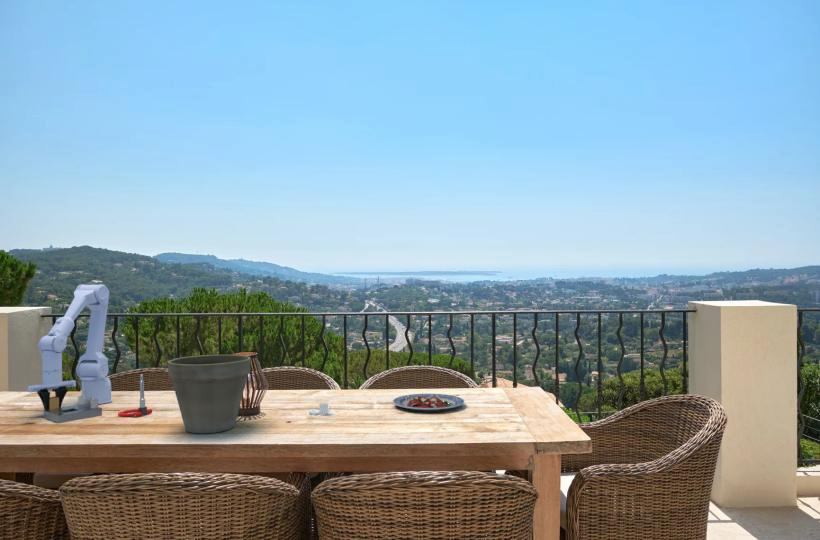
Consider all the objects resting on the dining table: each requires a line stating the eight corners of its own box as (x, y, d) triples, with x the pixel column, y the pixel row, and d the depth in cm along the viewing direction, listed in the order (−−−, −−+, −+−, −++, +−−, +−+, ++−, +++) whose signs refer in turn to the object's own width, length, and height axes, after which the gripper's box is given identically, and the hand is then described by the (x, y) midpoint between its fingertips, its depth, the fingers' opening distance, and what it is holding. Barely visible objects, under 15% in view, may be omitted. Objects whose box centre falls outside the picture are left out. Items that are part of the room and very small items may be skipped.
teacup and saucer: (305, 415, 213) (305, 403, 213) (323, 411, 219) (323, 400, 219) (321, 419, 207) (321, 407, 207) (340, 415, 213) (339, 403, 213)
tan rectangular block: (55, 413, 216) (55, 396, 216) (59, 414, 214) (59, 397, 214) (46, 415, 213) (46, 397, 213) (49, 416, 211) (49, 398, 211)
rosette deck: (86, 410, 221) (86, 393, 221) (101, 415, 213) (101, 397, 213) (43, 417, 210) (43, 399, 210) (57, 423, 202) (57, 404, 202)
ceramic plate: (380, 411, 218) (380, 402, 218) (408, 397, 242) (408, 389, 242) (451, 417, 209) (451, 408, 209) (472, 402, 232) (472, 394, 232)
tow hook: (111, 417, 212) (134, 418, 208) (110, 376, 212) (132, 376, 209) (133, 411, 220) (154, 412, 217) (131, 372, 221) (153, 372, 217)
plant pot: (186, 418, 208) (186, 353, 208) (260, 418, 207) (260, 353, 207) (153, 438, 183) (153, 364, 183) (237, 438, 182) (236, 364, 182)
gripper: (69, 366, 222) (70, 405, 222) (24, 372, 210) (24, 412, 210) (78, 368, 217) (78, 407, 217) (32, 374, 206) (32, 415, 206)
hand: (52, 410), depth 214 cm, fingers closed on tan rectangular block, 3 cm apart
